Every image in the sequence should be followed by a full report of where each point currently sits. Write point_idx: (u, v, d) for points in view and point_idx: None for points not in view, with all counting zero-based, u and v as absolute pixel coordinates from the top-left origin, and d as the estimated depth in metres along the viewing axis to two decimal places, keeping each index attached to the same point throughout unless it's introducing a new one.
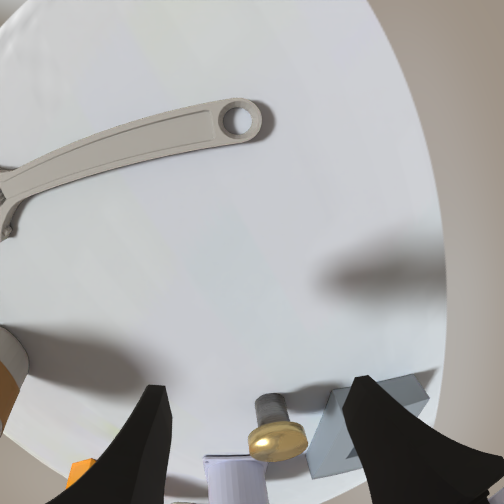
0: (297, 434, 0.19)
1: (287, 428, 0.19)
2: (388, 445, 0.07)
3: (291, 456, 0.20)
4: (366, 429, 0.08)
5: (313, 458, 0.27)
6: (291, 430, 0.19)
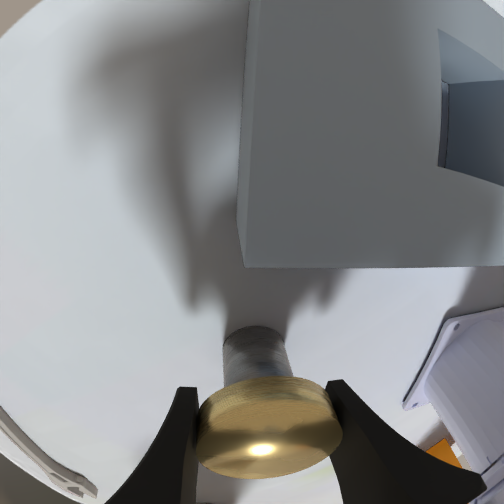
0: (207, 430, 0.07)
1: (197, 430, 0.08)
2: (358, 454, 0.07)
3: (324, 429, 0.07)
4: None
5: None
6: (200, 429, 0.08)
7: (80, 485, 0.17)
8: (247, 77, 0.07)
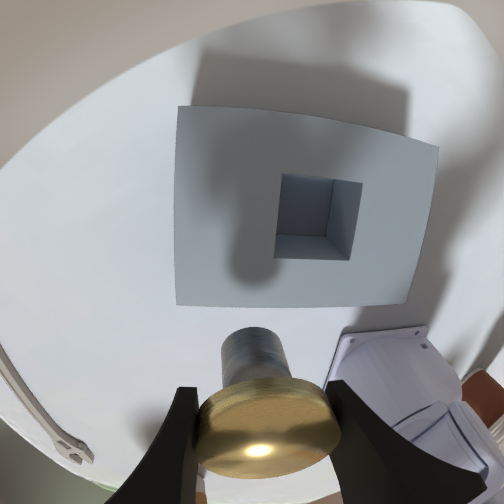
0: (208, 430, 0.07)
1: (196, 430, 0.08)
2: (358, 454, 0.07)
3: (324, 429, 0.07)
4: None
5: None
6: (200, 429, 0.08)
7: (81, 450, 0.25)
8: None
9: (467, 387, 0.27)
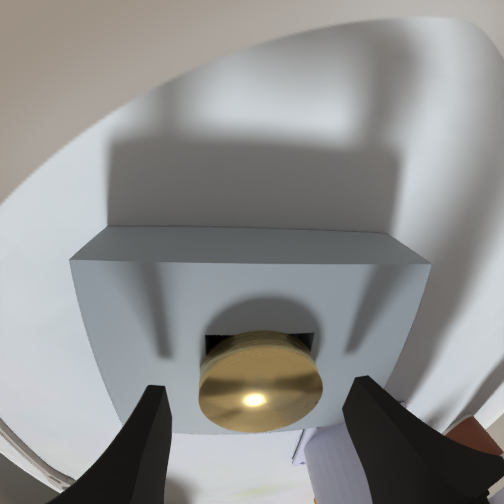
0: (210, 374, 0.09)
1: (200, 377, 0.10)
2: (388, 445, 0.07)
3: (307, 378, 0.10)
4: (366, 429, 0.08)
5: None
6: (203, 376, 0.10)
7: (70, 485, 0.23)
8: None
9: (452, 436, 0.24)
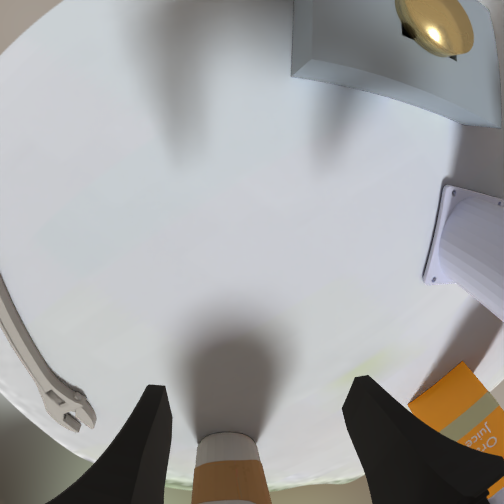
0: None
1: None
2: (388, 445, 0.07)
3: (461, 11, 0.08)
4: (366, 429, 0.08)
5: (459, 115, 0.13)
6: None
7: (77, 404, 0.20)
8: None
9: None
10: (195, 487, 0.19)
